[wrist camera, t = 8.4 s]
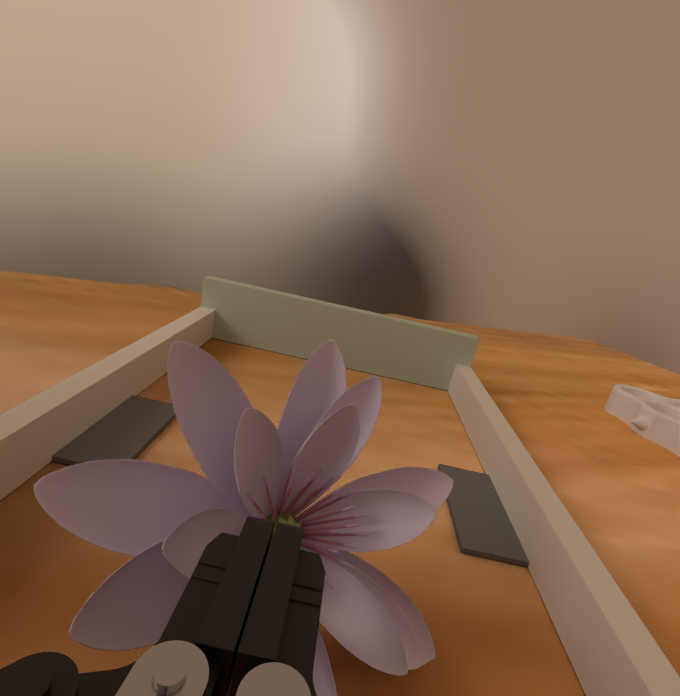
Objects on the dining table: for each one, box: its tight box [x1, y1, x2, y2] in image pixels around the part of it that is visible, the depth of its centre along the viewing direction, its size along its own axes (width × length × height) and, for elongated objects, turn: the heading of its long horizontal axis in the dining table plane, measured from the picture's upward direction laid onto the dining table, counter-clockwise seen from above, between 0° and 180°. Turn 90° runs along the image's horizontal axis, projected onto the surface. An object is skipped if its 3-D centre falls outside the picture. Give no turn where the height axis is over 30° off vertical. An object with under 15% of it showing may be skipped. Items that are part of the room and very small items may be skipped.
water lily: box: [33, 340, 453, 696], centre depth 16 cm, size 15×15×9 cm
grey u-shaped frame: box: [0, 276, 680, 696], centre depth 25 cm, size 44×28×6 cm, turn 176°
